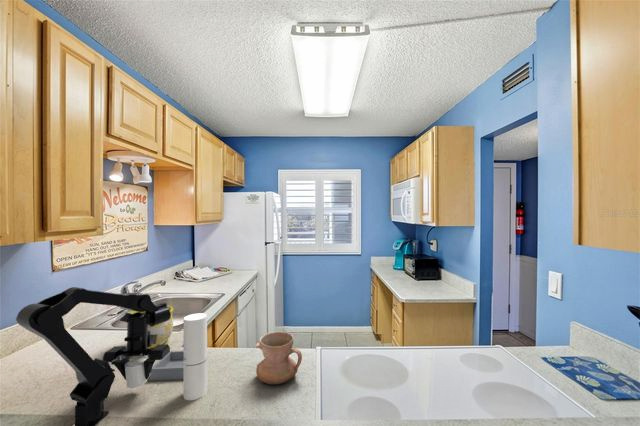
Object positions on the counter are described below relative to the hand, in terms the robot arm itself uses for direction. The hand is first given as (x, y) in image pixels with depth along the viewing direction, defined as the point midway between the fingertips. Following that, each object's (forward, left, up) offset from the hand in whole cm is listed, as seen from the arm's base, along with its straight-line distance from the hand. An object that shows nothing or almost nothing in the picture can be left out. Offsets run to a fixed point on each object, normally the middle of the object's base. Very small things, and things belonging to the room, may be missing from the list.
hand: (137, 379), depth 91 cm
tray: (+15, -7, -5) cm, 17 cm away
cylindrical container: (-1, -19, -5) cm, 20 cm away
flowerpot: (+36, +15, -5) cm, 39 cm away
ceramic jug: (+6, -46, -5) cm, 47 cm away
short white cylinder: (0, 0, -2) cm, 2 cm away
